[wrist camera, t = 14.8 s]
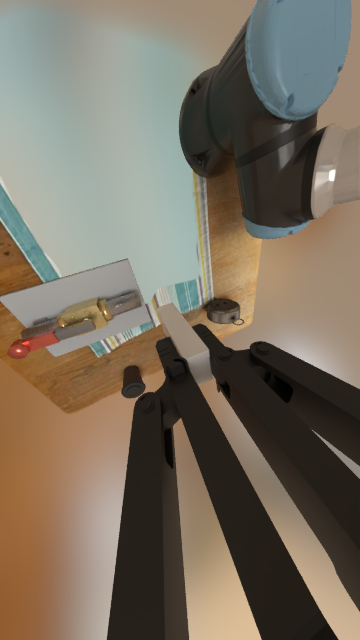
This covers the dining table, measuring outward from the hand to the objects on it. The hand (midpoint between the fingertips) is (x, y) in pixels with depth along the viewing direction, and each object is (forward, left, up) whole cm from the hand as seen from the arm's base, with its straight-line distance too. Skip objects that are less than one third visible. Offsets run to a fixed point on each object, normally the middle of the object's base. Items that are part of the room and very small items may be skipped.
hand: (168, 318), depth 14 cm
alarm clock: (+23, +23, -35) cm, 47 cm away
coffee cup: (+39, -15, -35) cm, 54 cm away
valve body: (+10, -16, -33) cm, 38 cm away
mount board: (+10, -16, -34) cm, 39 cm away
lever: (+10, -22, -27) cm, 36 cm away
